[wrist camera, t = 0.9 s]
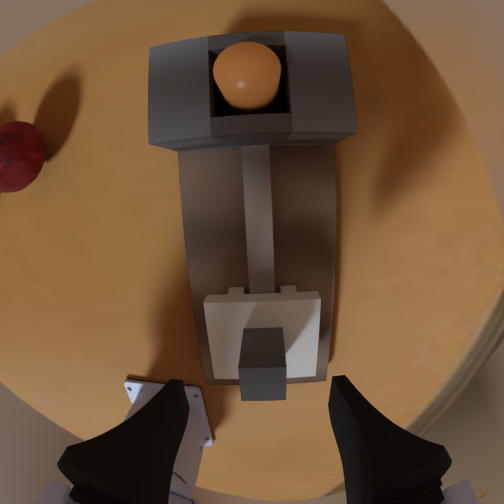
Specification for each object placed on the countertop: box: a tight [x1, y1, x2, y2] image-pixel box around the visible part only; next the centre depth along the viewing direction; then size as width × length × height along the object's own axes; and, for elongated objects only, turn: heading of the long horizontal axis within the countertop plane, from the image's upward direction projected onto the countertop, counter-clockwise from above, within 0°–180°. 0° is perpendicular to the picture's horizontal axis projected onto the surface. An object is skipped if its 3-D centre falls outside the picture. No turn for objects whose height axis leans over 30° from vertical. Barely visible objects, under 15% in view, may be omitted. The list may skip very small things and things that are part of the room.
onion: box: [0, 121, 45, 193], centre depth 15 cm, size 6×6×8 cm
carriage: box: [203, 285, 321, 401], centre depth 16 cm, size 6×7×6 cm
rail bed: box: [148, 31, 357, 385], centre depth 16 cm, size 23×10×8 cm, turn 3°
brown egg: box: [213, 42, 281, 115], centre depth 11 cm, size 3×3×4 cm
